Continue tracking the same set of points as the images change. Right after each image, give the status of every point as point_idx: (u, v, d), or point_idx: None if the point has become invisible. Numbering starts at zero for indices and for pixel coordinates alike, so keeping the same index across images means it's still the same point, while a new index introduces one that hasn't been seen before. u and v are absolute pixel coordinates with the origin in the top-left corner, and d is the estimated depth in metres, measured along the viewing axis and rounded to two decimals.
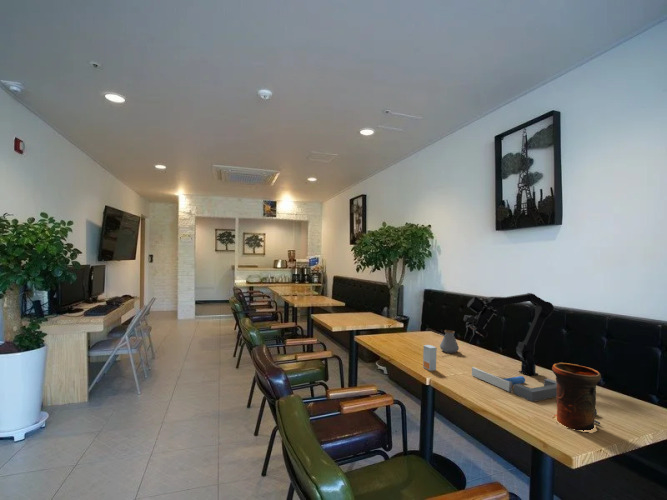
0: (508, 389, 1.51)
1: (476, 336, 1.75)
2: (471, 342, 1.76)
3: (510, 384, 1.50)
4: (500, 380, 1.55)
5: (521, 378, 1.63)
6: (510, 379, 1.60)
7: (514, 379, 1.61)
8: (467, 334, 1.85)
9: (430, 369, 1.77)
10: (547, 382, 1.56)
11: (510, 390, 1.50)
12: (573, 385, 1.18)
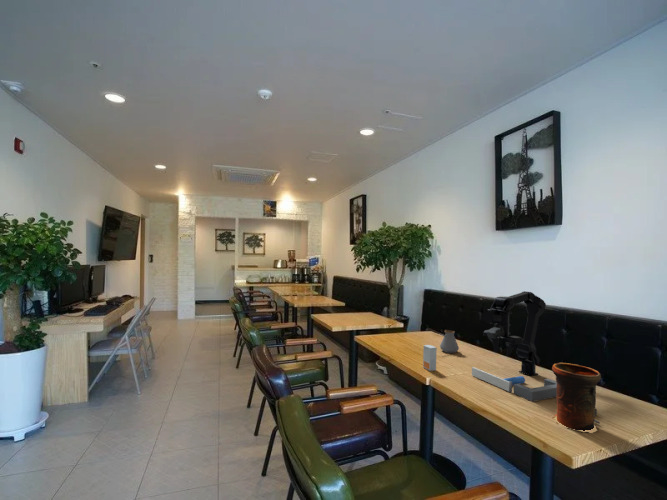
0: (508, 389, 1.51)
1: (510, 345, 1.65)
2: (509, 353, 1.65)
3: (510, 384, 1.50)
4: (500, 380, 1.55)
5: (521, 378, 1.63)
6: (510, 379, 1.60)
7: (514, 379, 1.61)
8: (495, 346, 1.72)
9: (430, 369, 1.77)
10: (547, 382, 1.56)
11: (510, 390, 1.50)
12: (573, 385, 1.18)
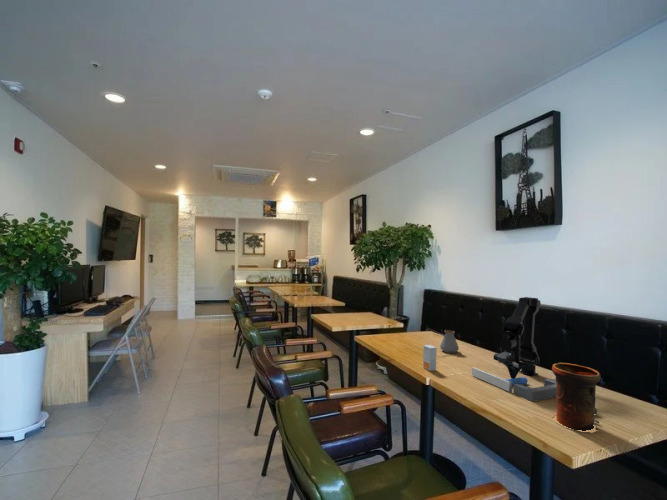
0: (508, 389, 1.51)
1: (515, 369, 1.62)
2: (514, 377, 1.62)
3: (510, 384, 1.50)
4: (500, 380, 1.55)
5: (523, 379, 1.61)
6: (512, 380, 1.59)
7: (516, 380, 1.60)
8: (511, 373, 1.63)
9: (430, 369, 1.77)
10: (547, 382, 1.56)
11: (510, 390, 1.50)
12: (573, 385, 1.18)
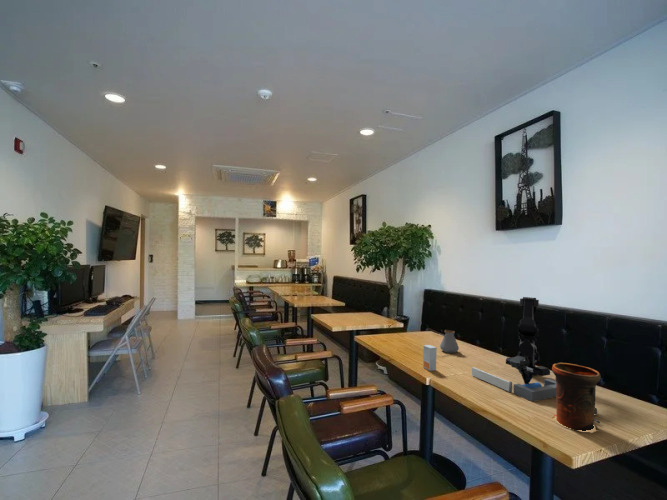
0: (508, 389, 1.51)
1: (529, 374, 1.55)
2: (528, 382, 1.56)
3: (510, 384, 1.50)
4: (500, 380, 1.55)
5: (537, 384, 1.55)
6: (526, 385, 1.52)
7: (530, 385, 1.53)
8: (525, 378, 1.56)
9: (430, 369, 1.77)
10: (547, 382, 1.56)
11: (510, 390, 1.50)
12: (573, 385, 1.18)
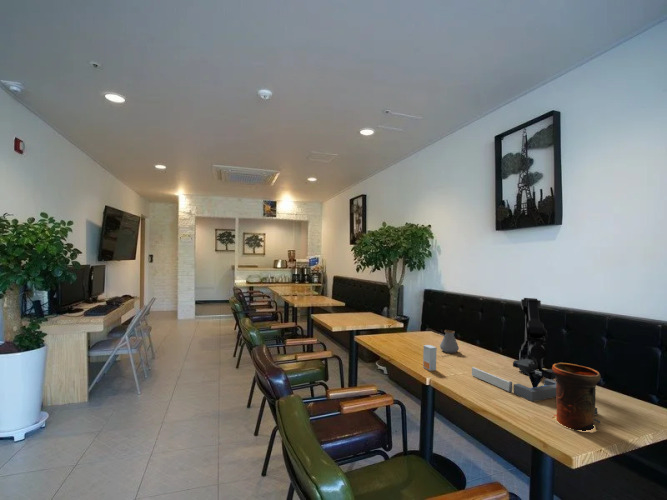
0: (508, 389, 1.51)
1: (538, 377, 1.51)
2: (536, 386, 1.52)
3: (510, 384, 1.50)
4: (500, 380, 1.55)
5: None
6: None
7: None
8: (533, 381, 1.53)
9: (430, 369, 1.77)
10: (547, 382, 1.56)
11: (510, 390, 1.50)
12: (573, 385, 1.18)
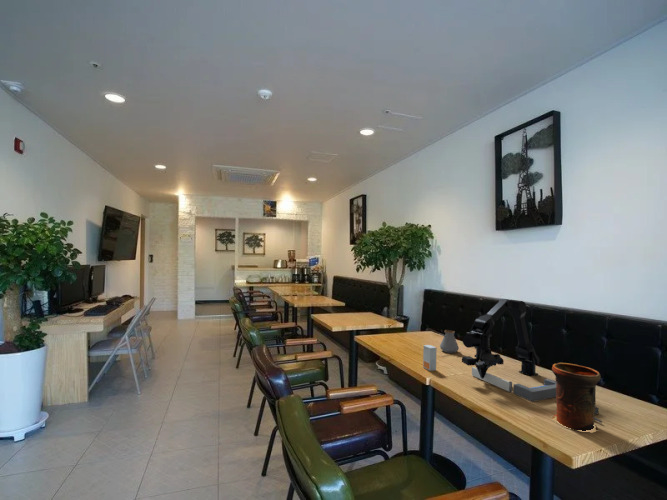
0: (508, 389, 1.51)
1: None
2: None
3: (510, 384, 1.50)
4: (500, 380, 1.55)
5: None
6: None
7: None
8: None
9: (430, 369, 1.77)
10: (547, 382, 1.56)
11: (510, 390, 1.50)
12: (573, 385, 1.18)
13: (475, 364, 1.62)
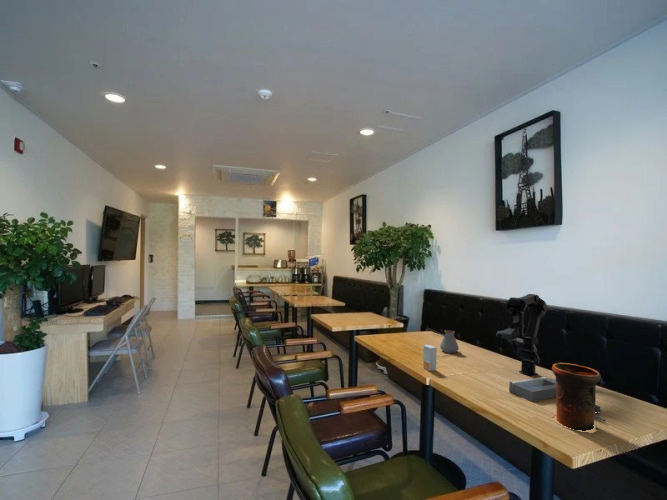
0: None
1: (519, 344, 1.67)
2: (517, 352, 1.68)
3: (509, 383, 1.51)
4: None
5: None
6: None
7: None
8: None
9: (430, 369, 1.77)
10: (547, 382, 1.56)
11: (509, 389, 1.51)
12: (573, 385, 1.18)
13: None
